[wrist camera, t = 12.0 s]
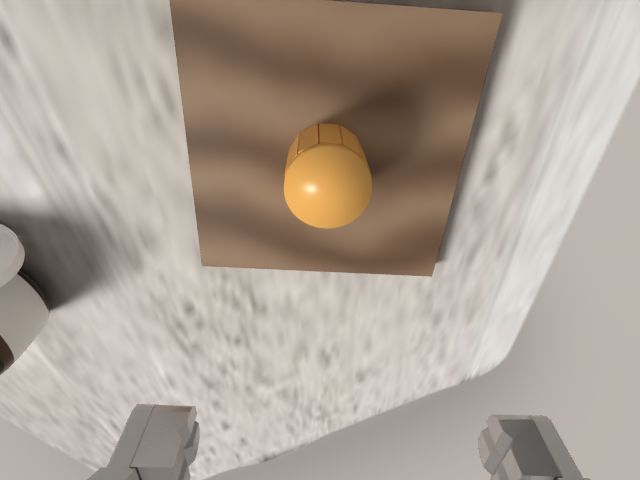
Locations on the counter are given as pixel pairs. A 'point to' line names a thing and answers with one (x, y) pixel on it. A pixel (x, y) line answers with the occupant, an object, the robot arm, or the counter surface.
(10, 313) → the spread jar
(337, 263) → the post board
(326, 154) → the wire cap
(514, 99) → the counter surface
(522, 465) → the robot arm
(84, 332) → the counter surface
